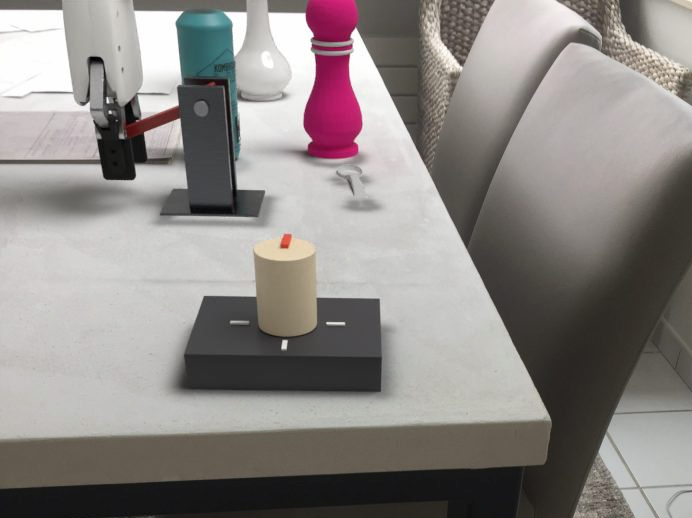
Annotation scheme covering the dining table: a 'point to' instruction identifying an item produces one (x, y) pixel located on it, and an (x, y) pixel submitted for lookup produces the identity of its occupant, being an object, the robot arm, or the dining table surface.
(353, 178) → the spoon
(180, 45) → the beverage bottle
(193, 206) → the lever bracket
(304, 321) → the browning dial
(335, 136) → the pepper mill
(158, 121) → the red lever
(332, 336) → the dial panel
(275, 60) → the flower vase
